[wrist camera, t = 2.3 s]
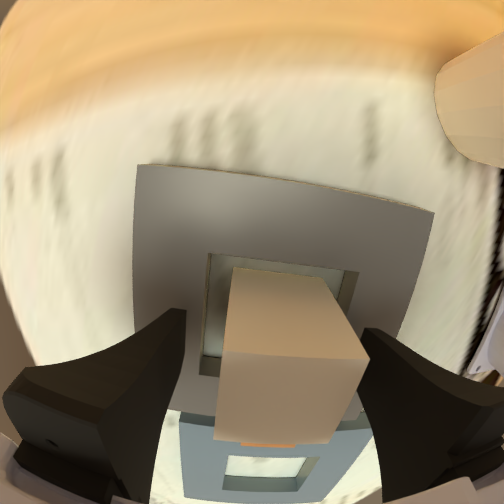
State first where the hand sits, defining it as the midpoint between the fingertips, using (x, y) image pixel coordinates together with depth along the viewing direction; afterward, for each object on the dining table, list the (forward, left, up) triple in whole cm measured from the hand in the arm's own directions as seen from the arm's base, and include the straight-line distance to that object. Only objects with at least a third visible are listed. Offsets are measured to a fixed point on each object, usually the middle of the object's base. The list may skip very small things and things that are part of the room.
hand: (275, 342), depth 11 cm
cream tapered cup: (-9, -12, -3) cm, 15 cm away
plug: (0, 0, -2) cm, 2 cm away
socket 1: (0, 0, -2) cm, 2 cm away
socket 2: (-2, +13, -2) cm, 13 cm away
